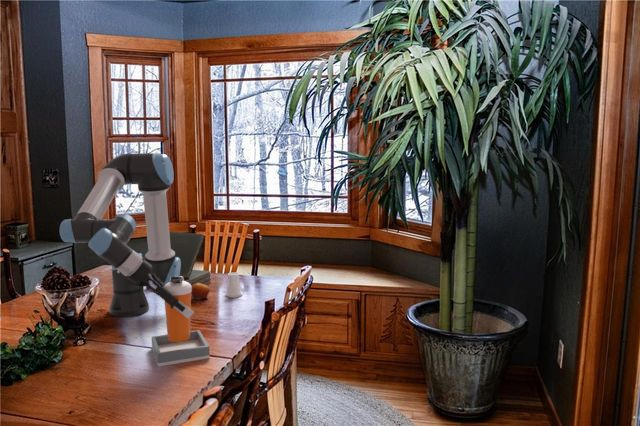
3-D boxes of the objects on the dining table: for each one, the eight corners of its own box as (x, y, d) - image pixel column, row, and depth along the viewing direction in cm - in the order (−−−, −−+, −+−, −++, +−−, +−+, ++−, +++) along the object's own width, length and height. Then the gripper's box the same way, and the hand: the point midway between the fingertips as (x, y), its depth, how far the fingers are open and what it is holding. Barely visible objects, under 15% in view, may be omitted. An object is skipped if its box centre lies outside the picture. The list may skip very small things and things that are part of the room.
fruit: (184, 297, 231) (189, 280, 234) (194, 302, 238) (199, 285, 241) (200, 300, 228) (205, 282, 231) (209, 304, 235) (214, 287, 238)
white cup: (245, 294, 242) (245, 272, 240) (234, 298, 236) (234, 276, 234) (233, 291, 246) (232, 270, 244) (221, 295, 240) (221, 274, 238)
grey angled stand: (146, 289, 250) (143, 237, 247) (171, 279, 268) (169, 230, 265) (188, 294, 243) (186, 240, 239) (211, 283, 261) (209, 233, 257)
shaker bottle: (168, 345, 169) (165, 283, 166) (162, 336, 176) (160, 277, 174) (196, 340, 173) (194, 280, 170) (189, 331, 181) (187, 273, 178)
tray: (152, 348, 180) (151, 336, 179) (199, 340, 186) (199, 329, 186) (158, 366, 165) (157, 354, 165) (209, 358, 172) (209, 346, 171)
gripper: (123, 269, 175) (175, 310, 184) (128, 285, 156) (186, 330, 164) (140, 252, 177) (190, 293, 185) (147, 266, 157) (203, 311, 166)
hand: (188, 311), depth 175 cm, fingers closed on shaker bottle, 9 cm apart
